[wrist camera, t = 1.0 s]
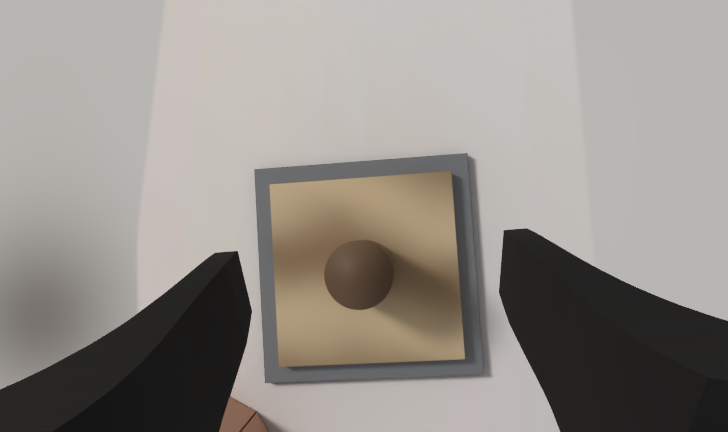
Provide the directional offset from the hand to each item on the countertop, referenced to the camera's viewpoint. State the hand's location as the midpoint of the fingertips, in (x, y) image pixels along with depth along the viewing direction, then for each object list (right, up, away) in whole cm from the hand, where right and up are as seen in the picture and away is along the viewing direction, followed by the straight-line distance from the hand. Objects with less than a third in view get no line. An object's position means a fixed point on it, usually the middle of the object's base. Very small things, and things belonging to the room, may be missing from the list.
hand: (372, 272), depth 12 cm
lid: (0, -1, +13) cm, 13 cm away
